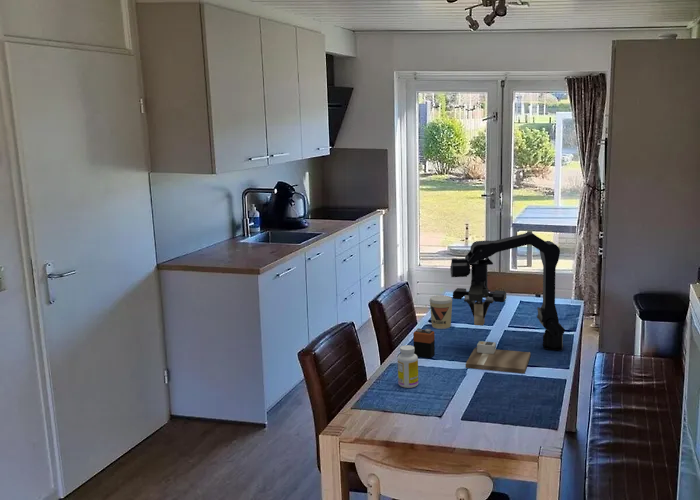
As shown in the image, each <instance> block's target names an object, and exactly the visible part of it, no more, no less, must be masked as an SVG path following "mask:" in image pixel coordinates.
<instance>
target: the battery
mask: <svg viewBox="0 0 700 500" xmlns="http://www.w3.org/2000/svg"><path fill="white" fill-rule="evenodd" d="M412 335H413V347H414V348H415V351H414V354H416V355H417V357H422V358H428V359H431V358H432V357H434V355H435V353H436V352H435V351H436V350H435V349H436V347H435V331H433V330H431V328H426V329H422V328H419V327H418V328H417V329H416V330H415V331H414V332H413V334H412Z"/></svg>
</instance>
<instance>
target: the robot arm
mask: <svg viewBox="0 0 700 500" xmlns="http://www.w3.org/2000/svg"><path fill="white" fill-rule="evenodd" d="M528 245H530V246H532V247H533V248H536V249H537V250H538V251H539V254H540V259H541V260H540V261H541V263H542V267H543V270H542V277H543V278H542V304H541V306H540V307H537V308H536V310H537V315H536V318H537V319H538V321H539V323H540V324H541V326H543V328H544V329H545V330H544V333H543V334H542V346H543V349H544V350H550V351H552V350H553V351H563V349H564V342H563V341H564V334H565V332H566V329H565V328H564V327H563V325H561V323H560V322H559V315H558V311H557V308H556V268H557V265H558V263H559V260H560V254H561V250H560V247H559V246H558V245H557V244H555V242H553V241H551V240H544V239H542V238H541V237H539V236H537V235H536V234H535V233H533V232H531V231H527V232H525V233H520V234H517V235H513V236H508V237H504V238H500V239H495V240H477V241H476V240H475V241H473V243H472V244H471V246H470V249H469V251H468V253H467V254H466V256H465V257H464V258H454V257H453V258H451V263H450V269H449V270H450V278H468V276H470V277H471V282H470V286H469V289H468V291H467V288H463V287H462V288H461V287H457V288H455V289H454V291H453V292H452V300H462V299H463V298H464V299H463V302H465V303H466V304H468V306H469V308H470V311H471V313H472V316H473V317H474V304H475V302H477V301H482V302H483V299H485V300H484V313H483V318H485V319H486V317H487V316H486V315H487V313H488V309H489V307H490V306H491V304H493V303H494V302H497V303H504V302H505V301H506V299H507V291H505V290H497V289H496V290H495V291H493V292H489V288H488V266H489V265H490V266H491V265H492V266H493V264H494V263H493V261H492V260H490V257H492V256H493V255H495V254H497V253H499V252H504V251H508V250H513V249H517V248H520V247H523V246H528ZM470 274H471V275H470Z"/></svg>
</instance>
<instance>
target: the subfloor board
mask: <svg viewBox="0 0 700 500" xmlns="http://www.w3.org/2000/svg"><path fill="white" fill-rule="evenodd" d="M531 353H532V352H530V351H518V350H510V349H509V350H508V349H507V350H506V349H497V348H496V351H495V353H494V354H488V353H477V347H474V349H473V350H472V351H471V353H470V356H469V357H468V359H467V360H466V362H465V369H475V370H483V371H484V370H485V371H493V372H494V371H496V372H504V373H505V372H506V373H515V374H516V373H517V374H525V373H526V370H527V368H528V365H529V362H530V360H531V359H530V358H531Z"/></svg>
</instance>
